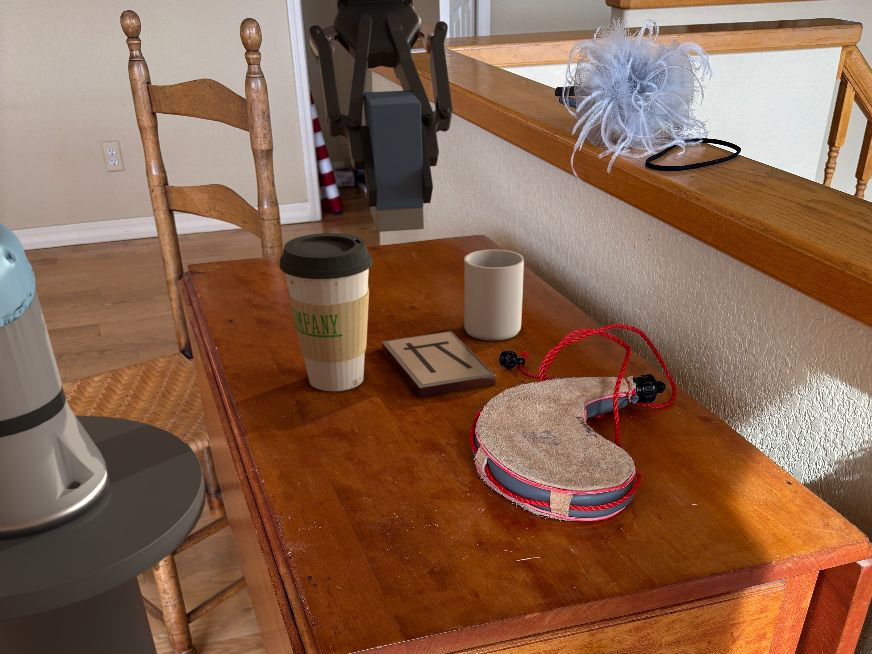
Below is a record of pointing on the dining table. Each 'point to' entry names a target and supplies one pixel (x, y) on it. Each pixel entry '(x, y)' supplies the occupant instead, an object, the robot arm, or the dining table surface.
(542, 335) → the dining table surface
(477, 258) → the cup
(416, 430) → the dining table surface
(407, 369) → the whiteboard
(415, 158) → the eraser
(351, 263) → the coffee cup
